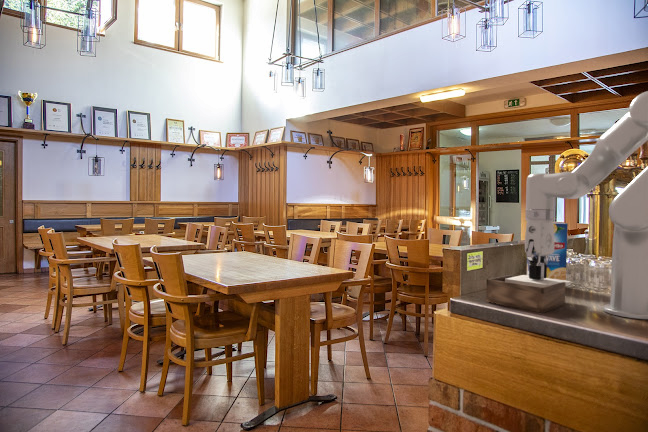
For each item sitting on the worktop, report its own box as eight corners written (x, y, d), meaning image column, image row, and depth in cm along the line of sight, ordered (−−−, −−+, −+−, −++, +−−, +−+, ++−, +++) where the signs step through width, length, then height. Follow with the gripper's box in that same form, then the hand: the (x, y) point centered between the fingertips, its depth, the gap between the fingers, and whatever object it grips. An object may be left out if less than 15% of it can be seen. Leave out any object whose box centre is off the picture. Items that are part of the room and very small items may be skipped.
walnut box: (564, 305, 128) (565, 282, 127) (542, 312, 118) (543, 288, 118) (509, 295, 140) (510, 274, 139) (486, 301, 130) (486, 279, 130)
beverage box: (565, 289, 151) (567, 223, 151) (530, 287, 154) (532, 222, 153) (559, 285, 158) (562, 222, 157) (526, 284, 161) (528, 221, 160)
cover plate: (570, 284, 132) (571, 264, 132) (554, 289, 124) (554, 267, 124) (523, 278, 143) (523, 258, 143) (504, 282, 135) (505, 261, 135)
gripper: (540, 216, 125) (538, 283, 125) (564, 216, 136) (562, 277, 136) (513, 215, 130) (512, 279, 131) (538, 215, 141) (536, 274, 142)
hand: (537, 277), depth 134 cm, fingers closed on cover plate, 3 cm apart
